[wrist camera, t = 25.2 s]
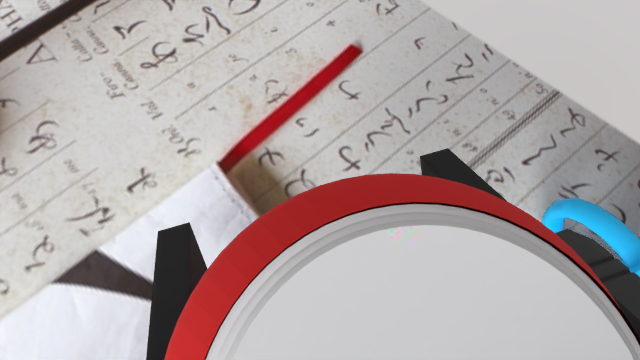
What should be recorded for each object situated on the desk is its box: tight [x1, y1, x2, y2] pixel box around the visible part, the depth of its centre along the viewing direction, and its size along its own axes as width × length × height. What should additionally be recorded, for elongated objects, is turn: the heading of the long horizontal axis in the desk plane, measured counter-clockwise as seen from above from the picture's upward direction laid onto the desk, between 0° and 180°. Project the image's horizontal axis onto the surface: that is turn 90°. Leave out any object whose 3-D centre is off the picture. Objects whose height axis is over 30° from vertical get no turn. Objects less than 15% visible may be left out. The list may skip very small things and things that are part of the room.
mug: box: [542, 198, 640, 277], centre depth 25 cm, size 12×8×8 cm
